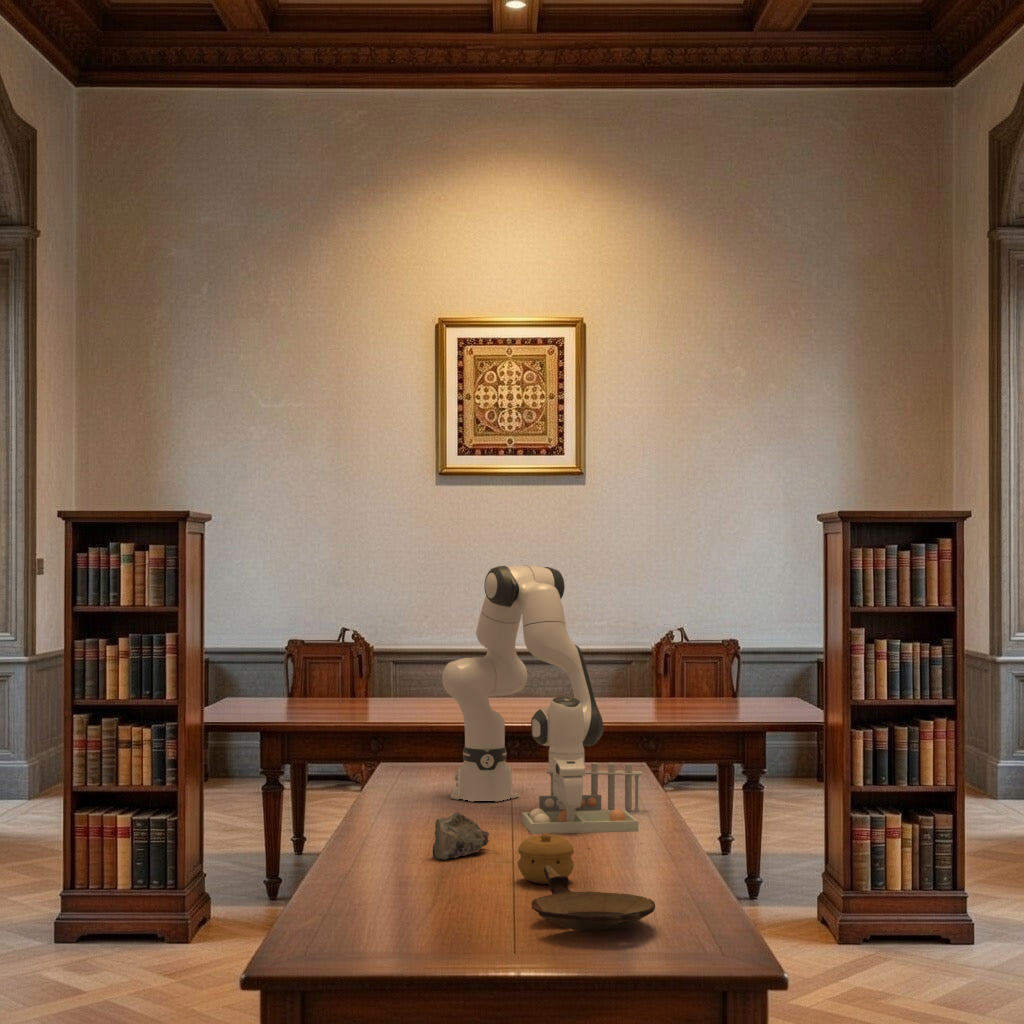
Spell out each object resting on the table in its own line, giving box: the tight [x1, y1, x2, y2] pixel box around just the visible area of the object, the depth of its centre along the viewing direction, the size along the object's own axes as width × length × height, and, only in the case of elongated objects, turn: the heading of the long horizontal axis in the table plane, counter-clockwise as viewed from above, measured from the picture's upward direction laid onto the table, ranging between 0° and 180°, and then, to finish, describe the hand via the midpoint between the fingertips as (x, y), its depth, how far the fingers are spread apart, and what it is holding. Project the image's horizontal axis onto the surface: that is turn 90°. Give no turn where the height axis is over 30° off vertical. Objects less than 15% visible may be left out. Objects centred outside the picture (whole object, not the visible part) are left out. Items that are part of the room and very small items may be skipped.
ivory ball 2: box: [534, 813, 550, 823], centre depth 337 cm, size 4×4×4 cm
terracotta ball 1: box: [558, 810, 567, 822], centre depth 341 cm, size 4×4×4 cm
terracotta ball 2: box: [609, 808, 625, 821], centre depth 343 cm, size 4×4×4 cm
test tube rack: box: [546, 762, 643, 815], centre depth 362 cm, size 25×4×13 cm, turn 86°
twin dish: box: [521, 809, 639, 835], centre depth 341 cm, size 15×26×3 cm, turn 98°
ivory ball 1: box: [530, 807, 545, 822], centre depth 343 cm, size 4×4×4 cm
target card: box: [538, 794, 602, 812], centre depth 354 cm, size 1×16×6 cm, turn 98°
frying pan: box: [531, 865, 656, 932], centre depth 255 cm, size 22×30×8 cm
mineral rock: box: [432, 811, 490, 861], centre depth 310 cm, size 13×11×10 cm
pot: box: [517, 833, 575, 885], centre depth 287 cm, size 12×12×10 cm
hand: (566, 820), depth 341 cm, fingers open, 8 cm apart
